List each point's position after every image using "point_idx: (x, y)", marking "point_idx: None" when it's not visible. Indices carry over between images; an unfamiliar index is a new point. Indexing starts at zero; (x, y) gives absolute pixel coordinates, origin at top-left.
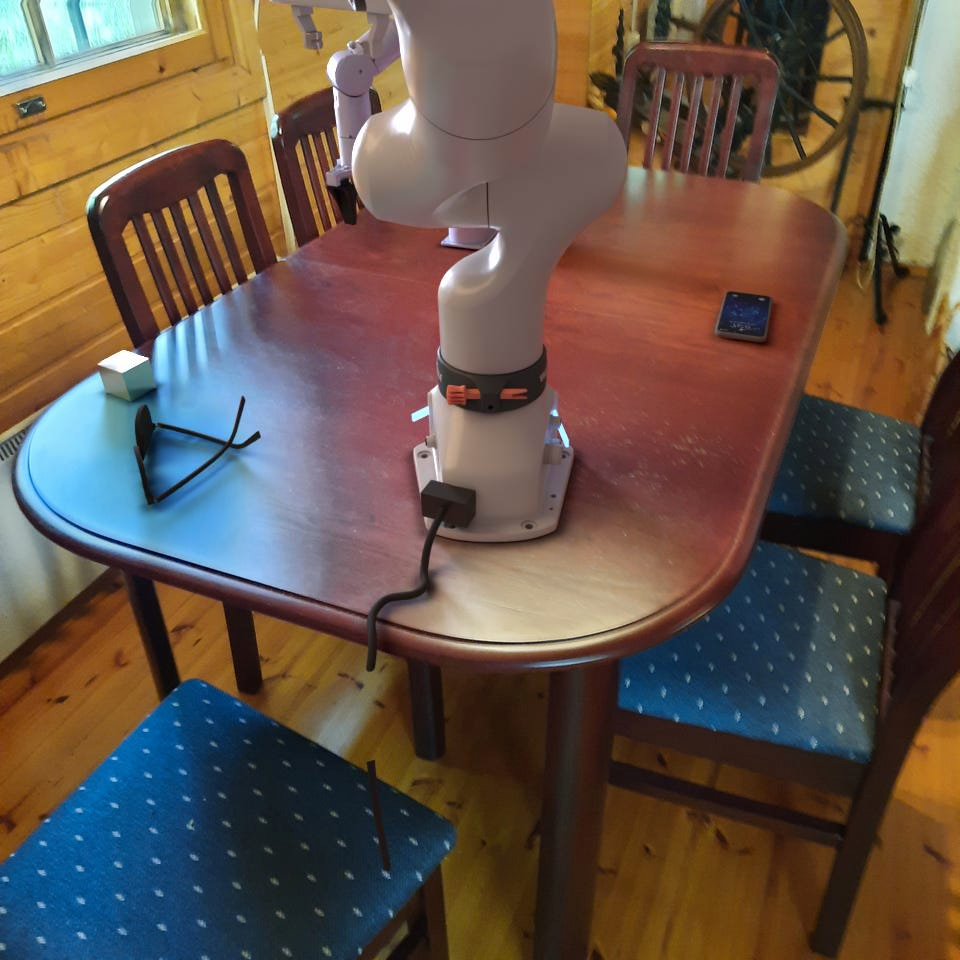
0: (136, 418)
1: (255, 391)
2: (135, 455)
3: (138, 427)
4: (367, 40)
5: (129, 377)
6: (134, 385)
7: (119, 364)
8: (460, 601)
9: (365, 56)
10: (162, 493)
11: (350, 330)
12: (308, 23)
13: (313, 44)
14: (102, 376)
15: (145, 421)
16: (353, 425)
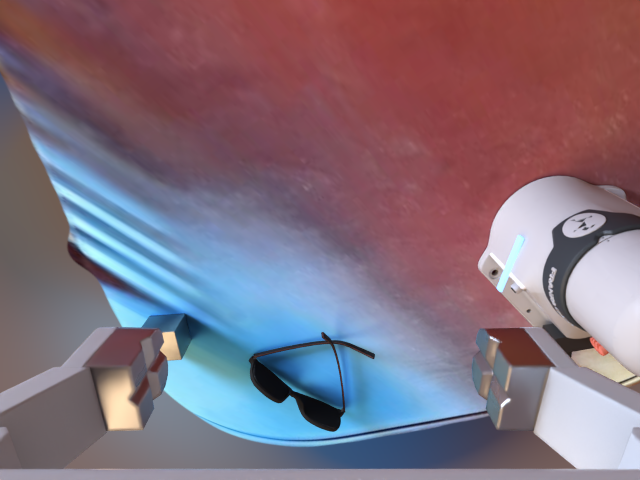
0: (273, 400)
1: (270, 269)
2: (322, 428)
3: (281, 401)
4: (529, 428)
5: (182, 349)
6: (185, 340)
7: (163, 352)
8: (592, 366)
9: (472, 370)
10: (343, 407)
11: (247, 106)
12: (54, 427)
13: (159, 387)
14: None
15: (266, 382)
16: (397, 260)
